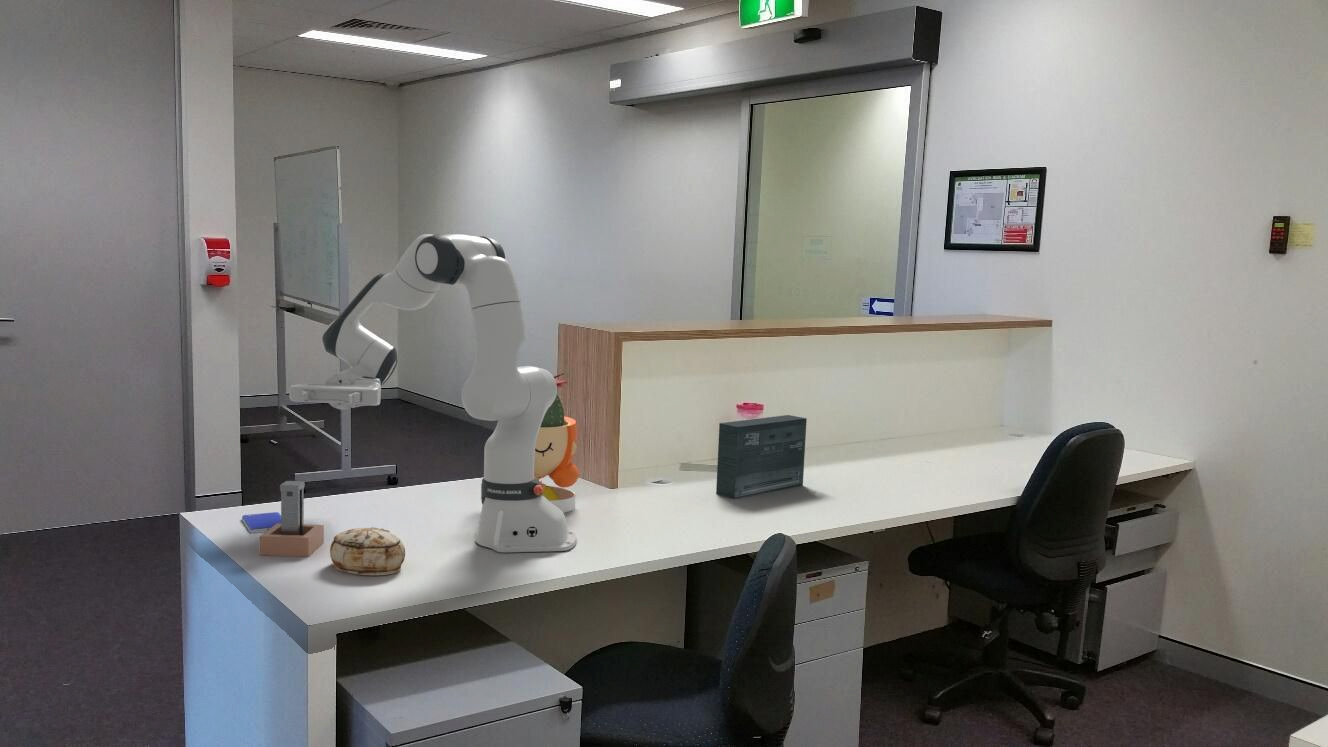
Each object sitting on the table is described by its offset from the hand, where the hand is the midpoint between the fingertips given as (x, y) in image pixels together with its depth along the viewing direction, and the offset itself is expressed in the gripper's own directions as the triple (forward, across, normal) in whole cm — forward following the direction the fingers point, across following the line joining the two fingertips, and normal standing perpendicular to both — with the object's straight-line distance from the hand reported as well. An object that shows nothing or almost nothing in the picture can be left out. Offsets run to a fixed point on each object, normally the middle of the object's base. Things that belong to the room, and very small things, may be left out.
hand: (325, 398), depth 224 cm
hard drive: (-2, -14, +31) cm, 34 cm away
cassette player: (-54, +106, +30) cm, 123 cm away
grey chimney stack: (+16, -2, +29) cm, 33 cm away
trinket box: (+27, +17, +30) cm, 44 cm away
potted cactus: (-30, +45, +30) cm, 62 cm away
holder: (+16, -2, +30) cm, 34 cm away
